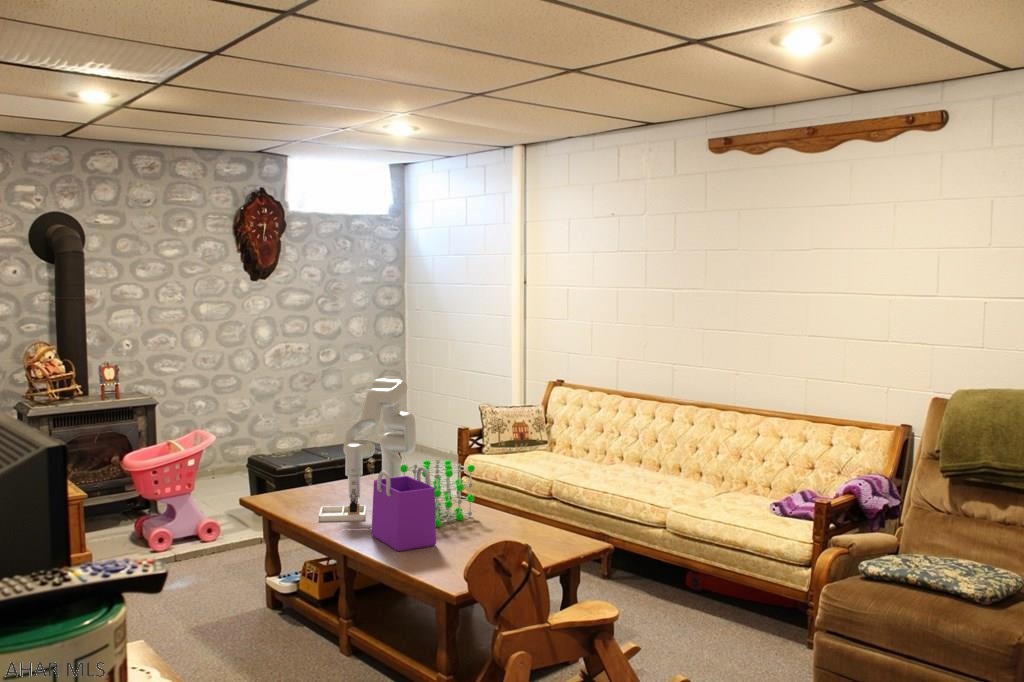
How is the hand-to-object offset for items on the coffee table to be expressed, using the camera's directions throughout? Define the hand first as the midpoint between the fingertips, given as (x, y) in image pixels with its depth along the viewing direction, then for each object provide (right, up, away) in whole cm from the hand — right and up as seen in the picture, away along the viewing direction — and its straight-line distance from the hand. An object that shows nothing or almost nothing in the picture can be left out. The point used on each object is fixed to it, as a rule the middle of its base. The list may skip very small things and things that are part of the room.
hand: (353, 509), depth 387 cm
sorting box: (-5, -4, -1) cm, 6 cm away
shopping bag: (+27, -7, -34) cm, 44 cm away
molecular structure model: (+37, -4, +2) cm, 38 cm away
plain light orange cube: (0, -3, 0) cm, 3 cm away
